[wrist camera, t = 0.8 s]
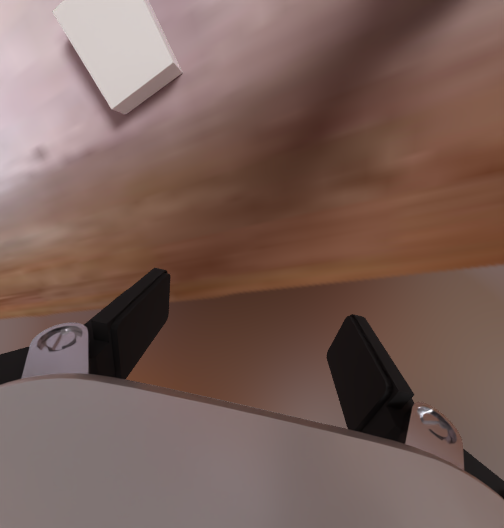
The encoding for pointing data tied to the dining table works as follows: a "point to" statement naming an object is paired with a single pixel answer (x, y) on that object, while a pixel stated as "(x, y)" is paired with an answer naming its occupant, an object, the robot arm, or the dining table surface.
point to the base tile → (120, 48)
